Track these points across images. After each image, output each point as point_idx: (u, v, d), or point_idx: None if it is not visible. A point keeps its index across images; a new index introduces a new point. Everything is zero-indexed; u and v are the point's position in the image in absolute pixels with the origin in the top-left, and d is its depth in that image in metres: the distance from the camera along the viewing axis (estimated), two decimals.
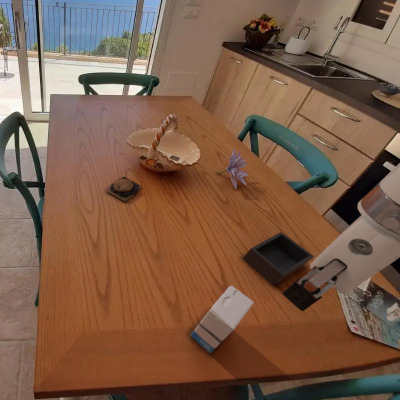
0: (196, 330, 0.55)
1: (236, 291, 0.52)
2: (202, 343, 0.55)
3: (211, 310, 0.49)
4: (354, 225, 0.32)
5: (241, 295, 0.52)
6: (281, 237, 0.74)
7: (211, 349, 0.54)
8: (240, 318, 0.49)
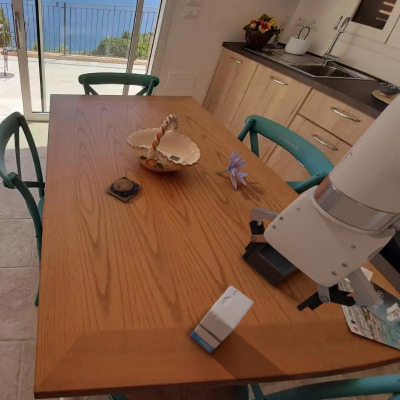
0: (196, 330, 0.55)
1: (236, 291, 0.52)
2: (202, 343, 0.55)
3: (211, 310, 0.49)
4: (366, 244, 0.30)
5: (241, 295, 0.52)
6: None
7: (211, 349, 0.54)
8: (240, 318, 0.49)
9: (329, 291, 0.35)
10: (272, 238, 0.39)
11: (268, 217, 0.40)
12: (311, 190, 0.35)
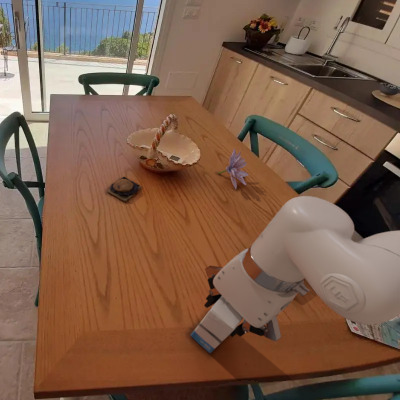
0: (196, 330, 0.55)
1: None
2: (202, 343, 0.55)
3: (211, 310, 0.49)
4: (277, 301, 0.40)
5: None
6: None
7: (211, 349, 0.54)
8: (240, 318, 0.48)
9: (248, 324, 0.47)
10: (218, 286, 0.49)
11: (217, 273, 0.51)
12: (242, 253, 0.45)
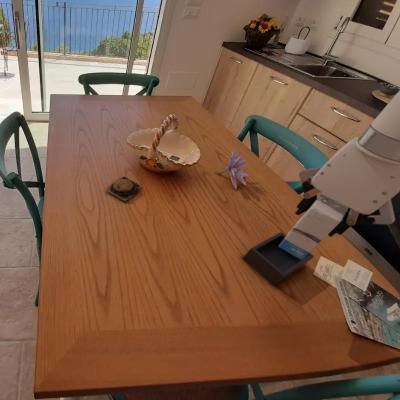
0: (288, 237, 0.55)
1: None
2: (293, 250, 0.55)
3: (312, 208, 0.50)
4: None
5: None
6: (281, 237, 0.74)
7: (304, 254, 0.54)
8: (343, 213, 0.49)
9: (354, 215, 0.47)
10: (320, 183, 0.49)
11: (315, 173, 0.51)
12: (354, 140, 0.45)
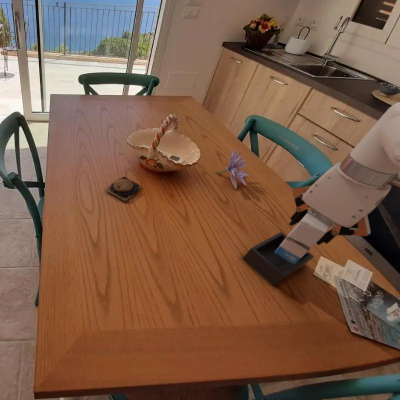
0: (282, 245, 0.64)
1: None
2: (287, 256, 0.64)
3: (303, 220, 0.59)
4: (374, 195, 0.49)
5: None
6: (281, 237, 0.74)
7: (296, 259, 0.63)
8: (329, 225, 0.58)
9: (337, 227, 0.56)
10: (309, 199, 0.58)
11: (306, 190, 0.60)
12: (337, 165, 0.54)
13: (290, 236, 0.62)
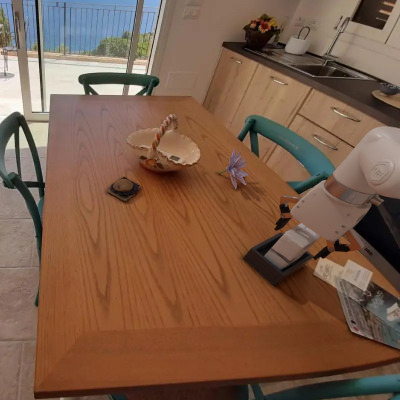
0: (266, 255, 0.69)
1: (307, 227, 0.66)
2: None
3: (284, 234, 0.64)
4: (355, 212, 0.52)
5: (311, 230, 0.65)
6: None
7: None
8: (309, 242, 0.62)
9: (334, 244, 0.57)
10: (296, 214, 0.61)
11: (293, 201, 0.63)
12: (321, 183, 0.57)
13: (273, 248, 0.67)
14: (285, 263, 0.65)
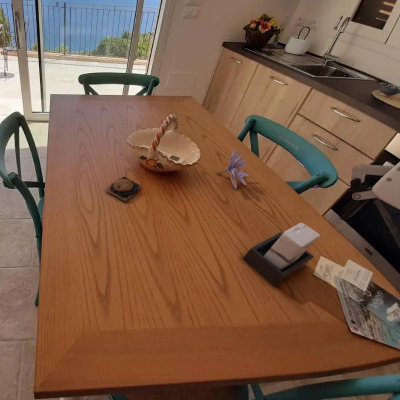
0: (266, 255, 0.69)
1: (306, 226, 0.66)
2: None
3: (283, 234, 0.64)
4: None
5: (310, 229, 0.65)
6: None
7: None
8: (308, 242, 0.62)
9: None
10: (385, 192, 0.39)
11: (376, 172, 0.40)
12: None
13: (272, 247, 0.67)
14: (285, 263, 0.65)
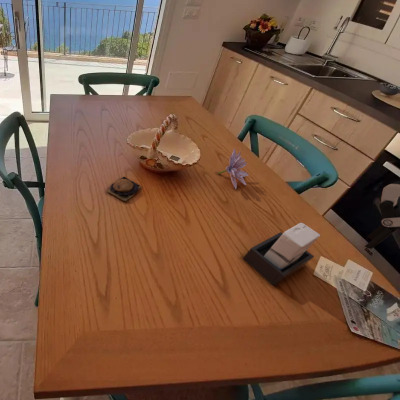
0: (266, 255, 0.69)
1: (306, 226, 0.66)
2: None
3: (283, 233, 0.64)
4: None
5: (310, 229, 0.65)
6: None
7: None
8: (308, 242, 0.62)
9: None
10: None
11: None
12: None
13: (272, 247, 0.67)
14: (285, 263, 0.65)
